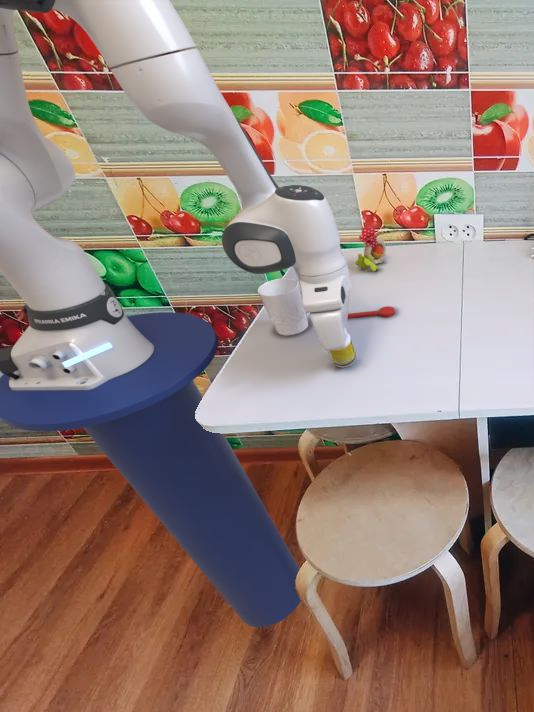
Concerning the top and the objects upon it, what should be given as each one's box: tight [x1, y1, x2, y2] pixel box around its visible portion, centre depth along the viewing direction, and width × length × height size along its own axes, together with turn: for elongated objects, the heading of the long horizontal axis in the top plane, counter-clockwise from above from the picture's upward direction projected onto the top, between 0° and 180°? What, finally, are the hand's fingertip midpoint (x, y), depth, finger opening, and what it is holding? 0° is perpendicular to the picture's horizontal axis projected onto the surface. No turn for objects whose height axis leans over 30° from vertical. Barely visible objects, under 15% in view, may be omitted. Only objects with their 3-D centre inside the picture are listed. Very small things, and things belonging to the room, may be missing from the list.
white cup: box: [257, 277, 309, 336], centre depth 100 cm, size 8×8×10 cm
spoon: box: [348, 305, 396, 319], centre depth 106 cm, size 16×4×1 cm, turn 101°
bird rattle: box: [354, 227, 387, 272], centre depth 124 cm, size 6×11×9 cm
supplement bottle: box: [327, 328, 357, 368], centre depth 89 cm, size 5×5×8 cm
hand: (344, 342), depth 93 cm, fingers closed
